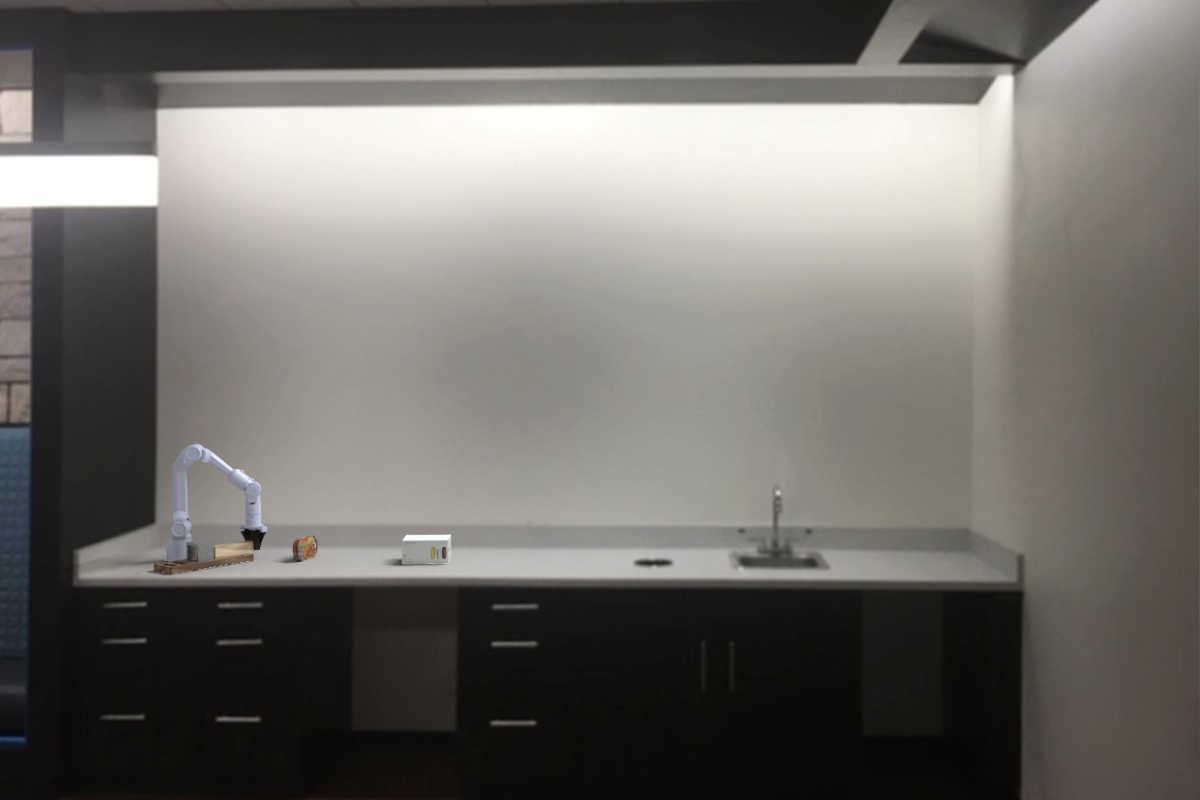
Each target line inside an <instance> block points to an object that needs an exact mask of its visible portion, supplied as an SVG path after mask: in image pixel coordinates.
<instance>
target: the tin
mask: <svg viewBox="0 0 1200 800" xmlns="http://www.w3.org/2000/svg"><path fill="white" fill-rule="evenodd" d="M318 545H319V544H318V540H317V538H316V536H314V535H312V534H311V535H306V536H305V535H304V536H303V537H301V538H298V539H297V538H296V539H295V540H294V541H293V543H292V555H293V559H294V560H295V561H297V562H298V561H299V562H304V561H303V560H305V561H307V560H309V559H308V558H310V559H312V558H311V557H313V558H315V557H316V555H317V553H318ZM306 559H307V560H306Z"/></svg>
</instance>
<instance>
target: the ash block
mask: <svg viewBox="0 0 1200 800" xmlns="http://www.w3.org/2000/svg"><path fill="white" fill-rule="evenodd" d="M246 553H255V550H254V546H253V541H245V540H244V541H237V542H231V543H223V544H216V545H214V558H221V557H227V556H234V555H240V554H246Z"/></svg>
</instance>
